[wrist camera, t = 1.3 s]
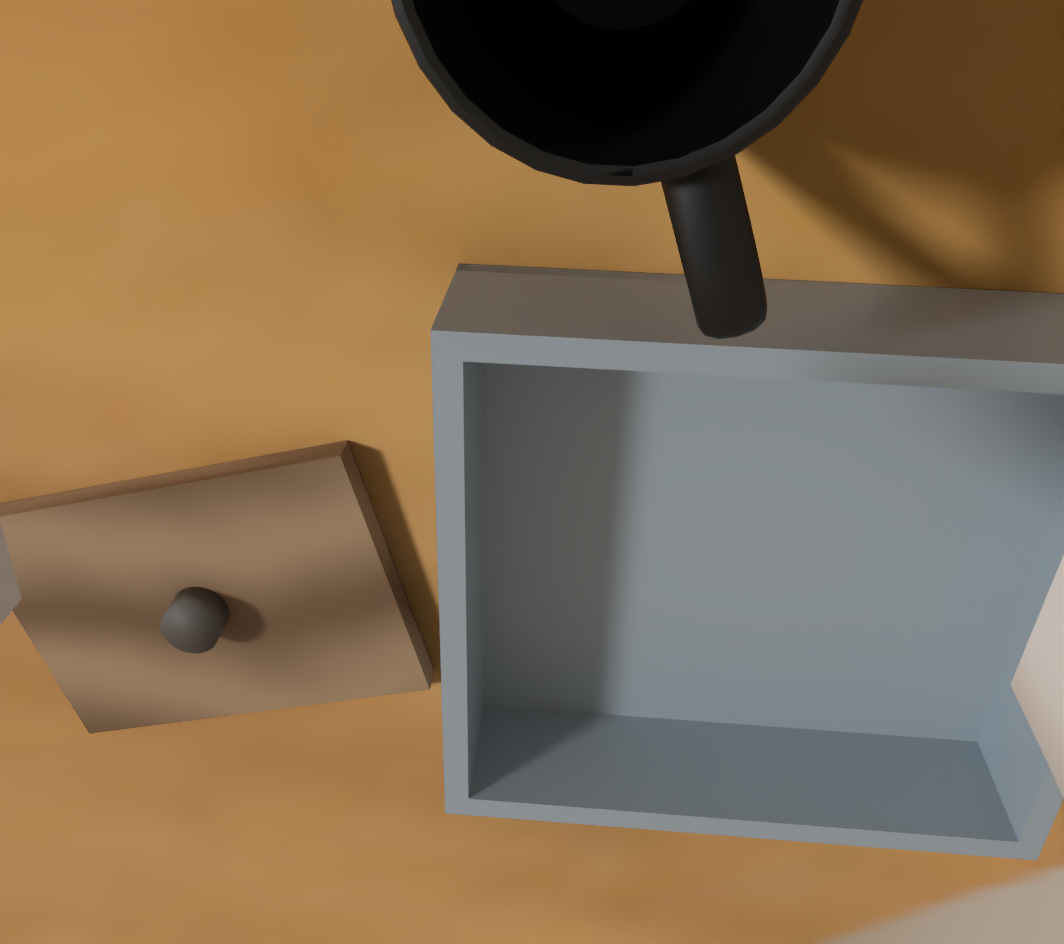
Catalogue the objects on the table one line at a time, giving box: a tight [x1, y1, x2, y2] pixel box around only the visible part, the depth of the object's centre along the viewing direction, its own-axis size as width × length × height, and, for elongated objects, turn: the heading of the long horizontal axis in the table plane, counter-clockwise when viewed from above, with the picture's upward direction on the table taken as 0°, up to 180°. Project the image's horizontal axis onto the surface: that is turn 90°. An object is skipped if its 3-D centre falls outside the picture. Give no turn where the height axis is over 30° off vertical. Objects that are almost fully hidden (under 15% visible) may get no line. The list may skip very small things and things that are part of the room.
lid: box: [0, 441, 434, 733], centre depth 35 cm, size 10×14×2 cm
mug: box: [391, 0, 863, 339], centre depth 21 cm, size 8×12×10 cm
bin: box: [431, 264, 1064, 860], centre depth 31 cm, size 18×20×5 cm
